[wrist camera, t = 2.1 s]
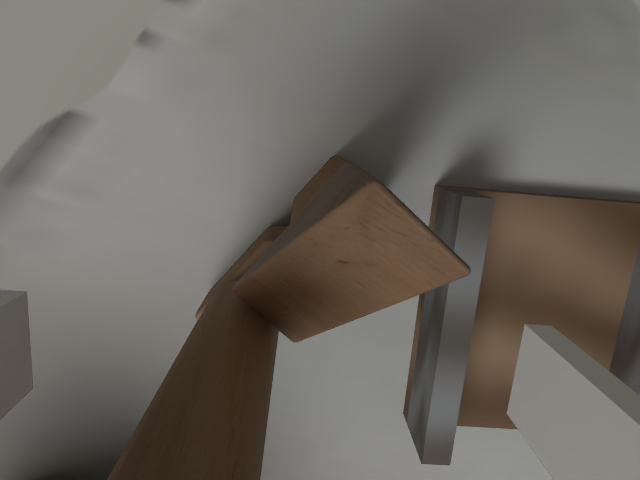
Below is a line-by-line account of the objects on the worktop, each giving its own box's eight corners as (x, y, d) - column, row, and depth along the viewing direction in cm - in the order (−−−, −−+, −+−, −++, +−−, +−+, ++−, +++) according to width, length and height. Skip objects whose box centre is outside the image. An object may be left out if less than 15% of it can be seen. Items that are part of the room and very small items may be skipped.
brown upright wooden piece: (383, 197, 26) (559, 336, 8) (254, 333, 27) (164, 700, 9) (334, 151, 25) (408, 191, 7) (205, 292, 26) (11, 607, 9)
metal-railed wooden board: (607, 424, 29) (661, 475, 25) (403, 413, 28) (421, 463, 24) (661, 204, 26) (734, 218, 22) (434, 185, 25) (462, 196, 21)
